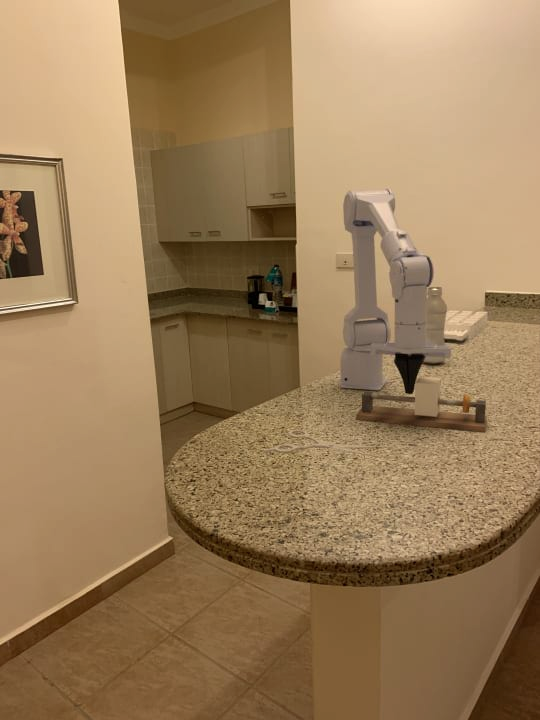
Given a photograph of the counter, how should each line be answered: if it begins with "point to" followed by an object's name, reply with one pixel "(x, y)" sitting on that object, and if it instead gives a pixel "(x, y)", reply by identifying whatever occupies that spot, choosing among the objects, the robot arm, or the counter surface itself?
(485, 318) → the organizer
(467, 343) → the counter surface
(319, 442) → the scissors
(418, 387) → the tan wooden block
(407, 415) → the rod base
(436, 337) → the plastic bottle
